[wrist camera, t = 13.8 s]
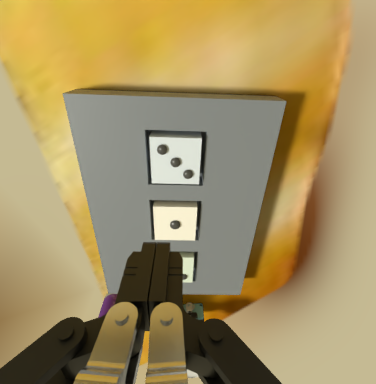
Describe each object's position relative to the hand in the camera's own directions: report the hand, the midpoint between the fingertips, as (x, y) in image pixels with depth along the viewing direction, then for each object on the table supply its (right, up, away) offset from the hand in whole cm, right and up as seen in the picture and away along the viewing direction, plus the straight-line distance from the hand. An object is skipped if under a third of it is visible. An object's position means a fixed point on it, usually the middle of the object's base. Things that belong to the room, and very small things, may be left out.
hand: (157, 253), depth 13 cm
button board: (0, +1, +17) cm, 17 cm away
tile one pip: (0, +1, +16) cm, 16 cm away
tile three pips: (0, +8, +12) cm, 14 cm away
